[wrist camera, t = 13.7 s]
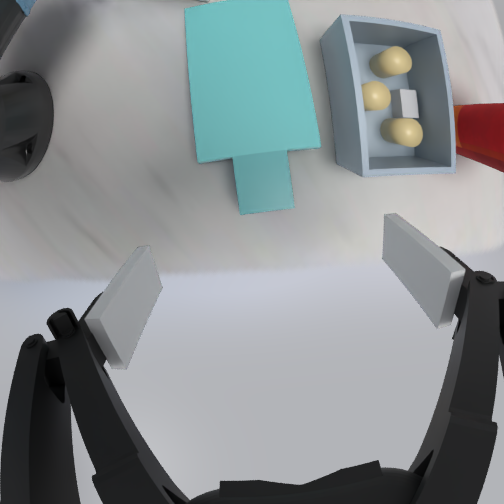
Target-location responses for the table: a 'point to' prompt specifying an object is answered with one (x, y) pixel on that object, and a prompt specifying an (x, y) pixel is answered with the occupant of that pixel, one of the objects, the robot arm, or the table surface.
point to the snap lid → (250, 96)
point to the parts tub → (389, 97)
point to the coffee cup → (481, 133)
